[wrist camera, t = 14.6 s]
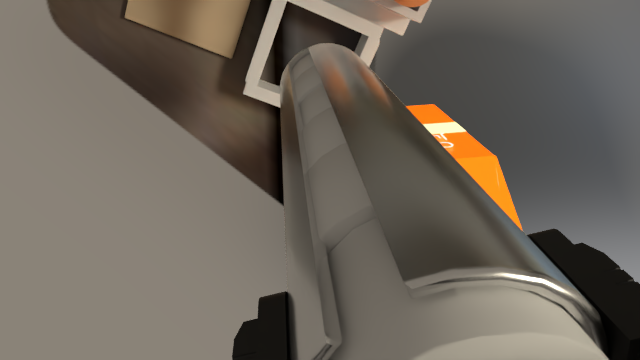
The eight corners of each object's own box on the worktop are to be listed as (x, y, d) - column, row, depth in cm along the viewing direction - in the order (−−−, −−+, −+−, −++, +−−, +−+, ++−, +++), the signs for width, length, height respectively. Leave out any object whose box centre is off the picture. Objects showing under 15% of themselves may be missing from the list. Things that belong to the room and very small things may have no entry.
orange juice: (429, 168, 49) (517, 281, 31) (353, 174, 49) (400, 293, 31) (434, 102, 46) (537, 188, 28) (353, 107, 45) (405, 199, 27)
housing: (438, -51, 39) (461, -53, 34) (355, 127, 46) (365, 145, 41) (285, -131, 35) (287, -145, 31) (220, 77, 42) (214, 90, 38)
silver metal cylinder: (367, 35, 28) (698, 280, 6) (374, 126, 31) (615, 512, 9) (271, 50, 28) (258, 356, 6) (287, 140, 31) (319, 567, 9)
